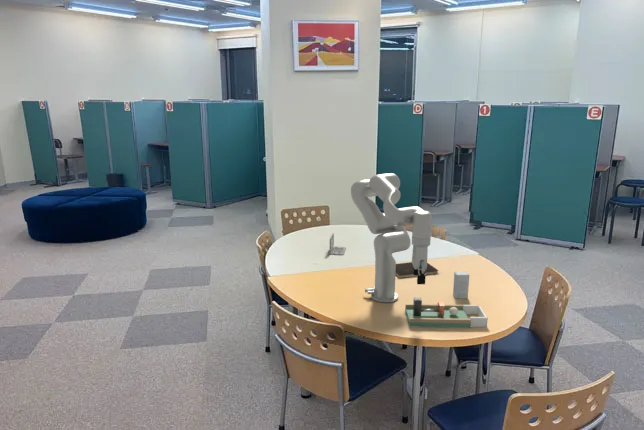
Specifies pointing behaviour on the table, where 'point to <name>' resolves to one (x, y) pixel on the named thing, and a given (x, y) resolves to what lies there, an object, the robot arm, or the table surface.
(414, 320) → the pitch board
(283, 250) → the table surface
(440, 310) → the kicker rod
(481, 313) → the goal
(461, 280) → the skincare box
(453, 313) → the ball
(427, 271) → the hardcover book
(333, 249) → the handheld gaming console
